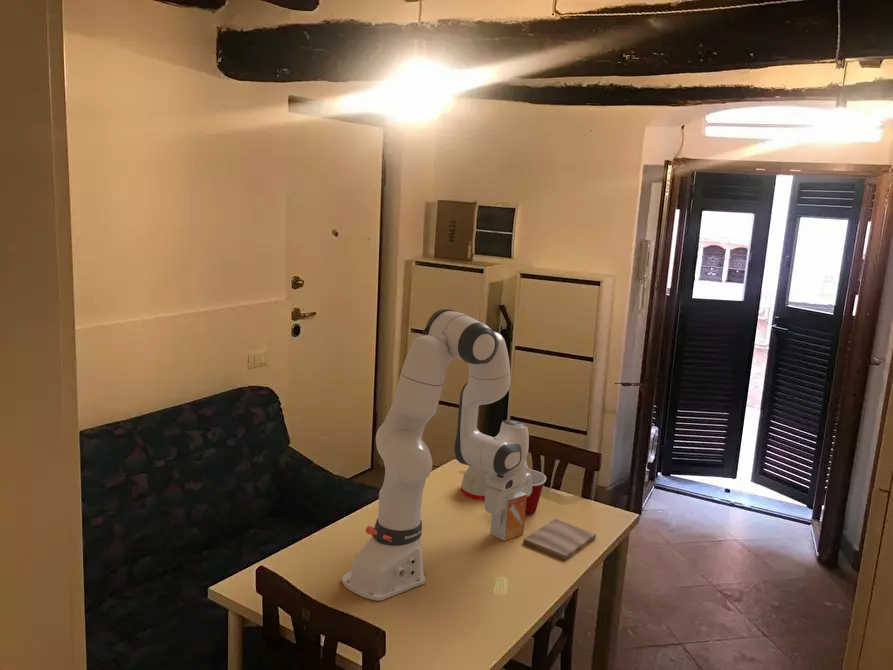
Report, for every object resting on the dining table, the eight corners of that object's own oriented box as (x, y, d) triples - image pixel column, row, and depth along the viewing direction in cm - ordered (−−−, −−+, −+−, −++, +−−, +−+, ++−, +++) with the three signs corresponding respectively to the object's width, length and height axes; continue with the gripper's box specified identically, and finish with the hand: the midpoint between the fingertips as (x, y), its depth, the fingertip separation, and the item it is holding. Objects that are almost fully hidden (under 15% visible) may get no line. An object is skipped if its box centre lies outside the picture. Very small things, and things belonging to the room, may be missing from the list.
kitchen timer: (474, 503, 237) (477, 459, 234) (453, 486, 249) (456, 445, 246) (510, 496, 244) (513, 454, 241) (488, 481, 256) (491, 440, 253)
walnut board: (565, 560, 204) (566, 555, 204) (523, 543, 212) (523, 538, 212) (595, 538, 218) (596, 534, 218) (554, 523, 226) (555, 518, 226)
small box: (504, 542, 212) (508, 500, 210) (489, 533, 217) (492, 492, 214) (524, 534, 218) (527, 493, 215) (508, 526, 222) (512, 486, 220)
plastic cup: (503, 512, 231) (506, 477, 229) (517, 501, 241) (520, 466, 238) (535, 522, 226) (539, 485, 224) (548, 509, 236) (551, 474, 233)
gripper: (521, 461, 223) (518, 503, 226) (482, 480, 208) (479, 525, 211) (539, 467, 220) (535, 509, 222) (500, 487, 204) (497, 533, 207)
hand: (507, 517), depth 216 cm, fingers closed on small box, 8 cm apart
